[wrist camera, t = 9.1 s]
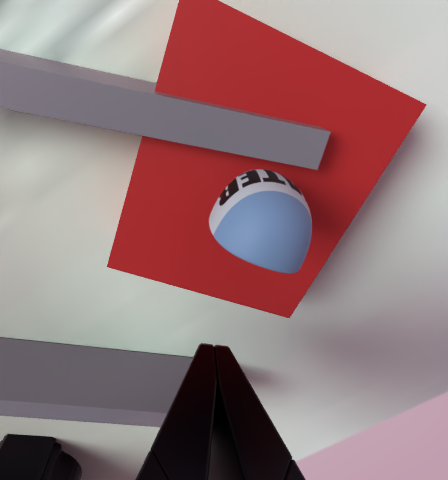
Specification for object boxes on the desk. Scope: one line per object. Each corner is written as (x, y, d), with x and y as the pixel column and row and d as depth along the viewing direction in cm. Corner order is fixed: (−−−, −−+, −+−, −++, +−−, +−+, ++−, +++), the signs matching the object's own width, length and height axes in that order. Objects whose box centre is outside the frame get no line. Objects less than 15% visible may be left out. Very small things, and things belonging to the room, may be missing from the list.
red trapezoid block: (189, 2, 10) (166, -74, 4) (377, 94, 11) (547, 129, 6) (125, 228, 13) (66, 351, 8) (275, 274, 15) (317, 405, 9)
